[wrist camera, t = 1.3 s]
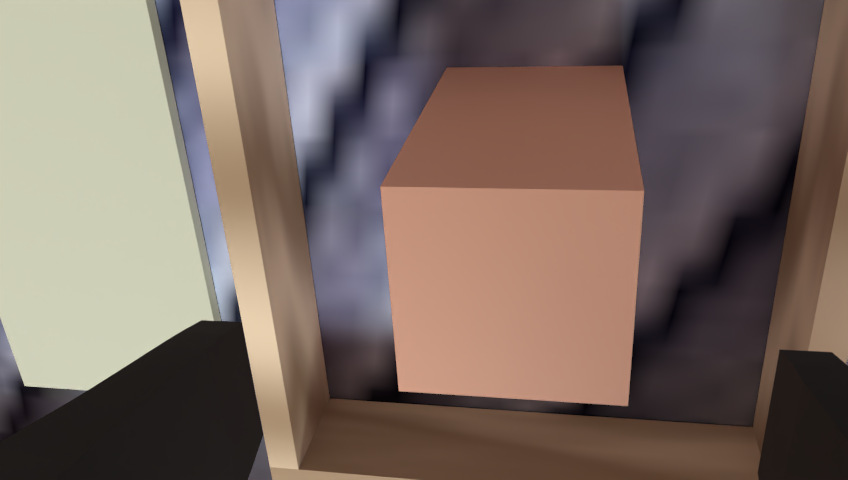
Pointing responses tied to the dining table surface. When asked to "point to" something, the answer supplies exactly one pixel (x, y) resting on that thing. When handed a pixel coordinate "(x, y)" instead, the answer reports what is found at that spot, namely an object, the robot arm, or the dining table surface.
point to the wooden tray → (456, 426)
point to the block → (517, 236)
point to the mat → (93, 192)
